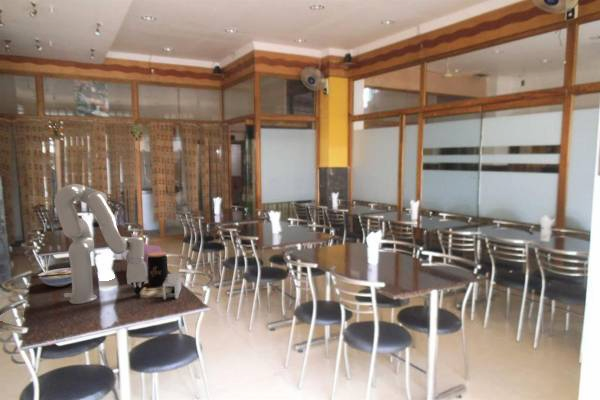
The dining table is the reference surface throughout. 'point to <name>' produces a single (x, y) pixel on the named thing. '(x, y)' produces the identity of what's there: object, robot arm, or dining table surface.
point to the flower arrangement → (146, 251)
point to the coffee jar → (157, 268)
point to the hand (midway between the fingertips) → (138, 294)
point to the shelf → (172, 285)
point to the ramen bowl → (56, 277)
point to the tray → (154, 292)
